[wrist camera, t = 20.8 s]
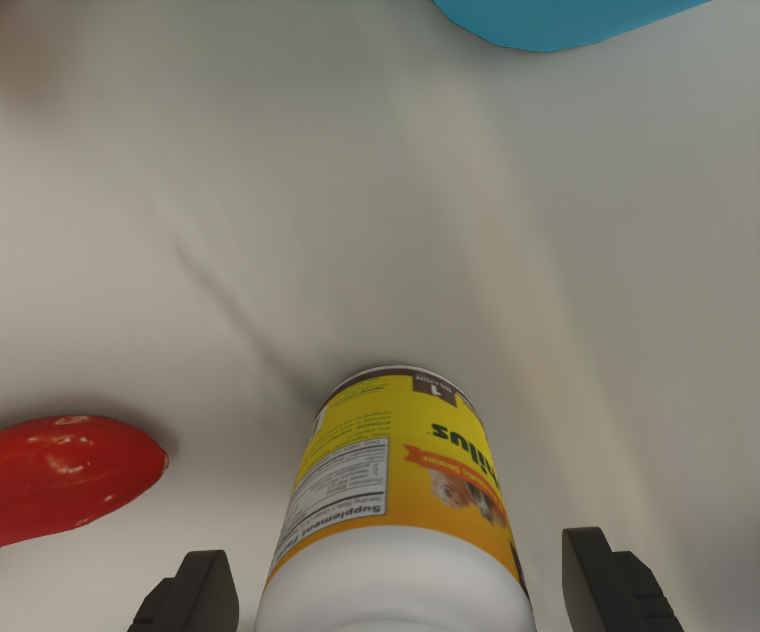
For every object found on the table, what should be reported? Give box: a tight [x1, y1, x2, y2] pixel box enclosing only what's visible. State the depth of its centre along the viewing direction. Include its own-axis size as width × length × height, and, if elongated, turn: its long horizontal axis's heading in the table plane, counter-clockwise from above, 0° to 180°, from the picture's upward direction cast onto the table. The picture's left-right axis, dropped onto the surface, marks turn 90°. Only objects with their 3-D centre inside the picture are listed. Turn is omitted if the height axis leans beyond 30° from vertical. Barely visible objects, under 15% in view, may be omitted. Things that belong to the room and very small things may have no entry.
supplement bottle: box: [254, 365, 537, 632], centre depth 13 cm, size 6×6×10 cm
